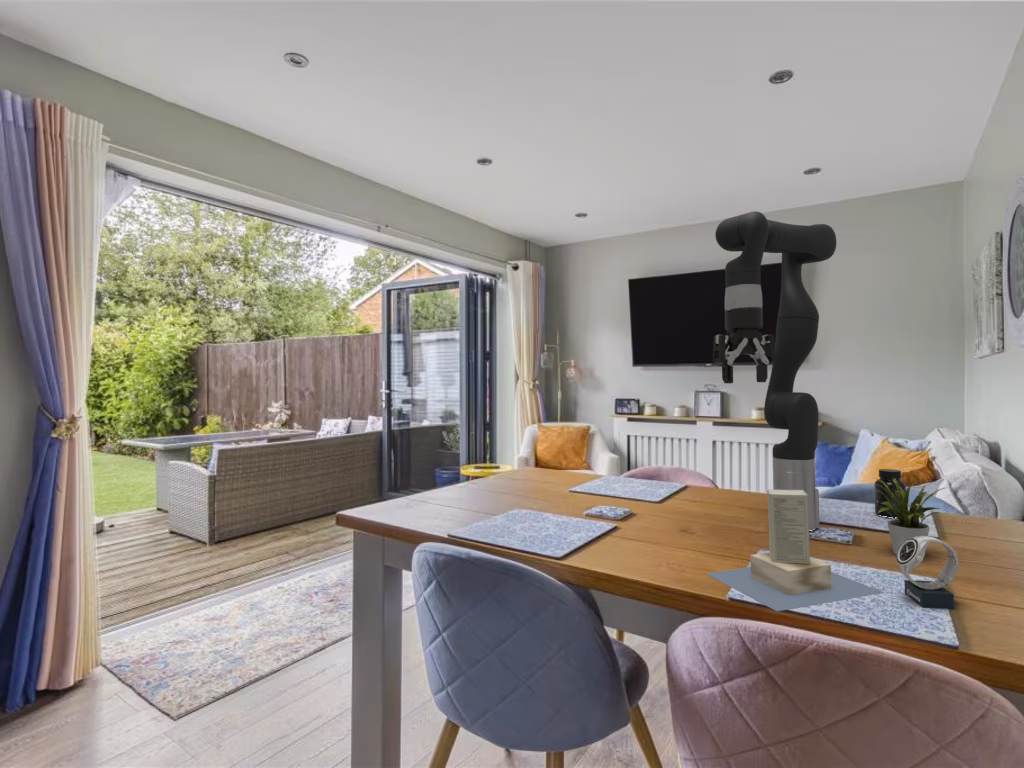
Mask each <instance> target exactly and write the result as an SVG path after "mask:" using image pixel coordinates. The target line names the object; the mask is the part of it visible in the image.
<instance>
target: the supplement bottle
mask: <svg viewBox="0 0 1024 768" xmlns="http://www.w3.org/2000/svg"><path fill="white" fill-rule="evenodd" d="M878 477H879V478H878V479H879V480H881V481H883V482H884V483H885V484H886V485H887V486H888V487H889V489H890V490H891V492H892V493H893V495H894V497H895V498H896V500H897V501H898V499H897V497H896V495H895V491H897V487H896V485H895V483H894V482H893V480H894V478H895V479H896V480H897V481H898V483H899V486H900V487H901V488H902V489H903V491H904V493H906V490H907V484H906V483H905V482H904V481H903V480H901V479H902V471H901V470H899V469H894V468H893V469H892V468H879V469H878ZM879 480H877V479H876V480H875V481H874V488H875V489H874V513H876V514H877V515H881V516H887V517H892V516H894V517H896V515H895V514H894V512H893V511H892V510H891V508H889V509H888V510H887V511H888V512H889V513H890V514H891V515H892V516H891V515H890V514H889V513H888V512H887V511H886V510H885V511H882V512H879V510H880V509H881V508H882V507H883V508H888V506H887V505H885V504H881V503H883V502H889V501H888V500H887V498H888V499H889V500H890V502H891V503H892V504H893V505H894V506H895V507H896V508H897V509H898V510H899V508H898V506H897V505H896V503H895V502H894V500H893V499H892V498H891V496H890V495H889V494H888V493H887V492H886V491H885V490H884V489H883V488H881V487H880V486H882V487H884V488H886V487H885V485H884V484H883V483H882V482H881V481H879ZM894 481H895V480H894ZM876 484H878V485H880V486H878V485H876ZM877 489H878V490H880V491H881V492H883V493H884V494H885V495H886V496H887V498H886V497H885V496H884V495H883V494H882V493H881V492H880V491H878V490H877ZM886 489H887V488H886ZM898 503H899V502H898ZM876 504H877V505H876ZM880 506H881V507H880ZM878 512H879V513H878ZM876 514H875V515H876ZM877 515H876V516H877Z"/></svg>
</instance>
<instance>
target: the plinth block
mask: <svg viewBox="0 0 1024 768" xmlns="http://www.w3.org/2000/svg"><path fill="white" fill-rule="evenodd" d="M749 559H750V567H751V577H752V578H754V579H756V580H758V581H760V582H763V583H765V584H767V585H769V586H771V587H773V588H775V589H777V590H779V591H781V592H783V593H786V594H788V595H792V594H798V593H804V592H810V591H816V590H822V589H828V588H831V572H832V569H831V568H832V565H831V564H830V563H827V562H824V561H821V560H819V559H816V558H814V557H812V556H810V564H798V563H784V562H772V560H771V557H770V553H769V552H764V553H757V554H755V553H754V554H750V558H749Z"/></svg>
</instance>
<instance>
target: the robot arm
mask: <svg viewBox="0 0 1024 768" xmlns="http://www.w3.org/2000/svg"><path fill="white" fill-rule="evenodd" d="M714 235H715V240H716V243H717V244H718V245H719V247H720V248H721V249H722V250H725V251H727V252H741V254H740V255H739V256H738V257H736V258H734V259H732V260H730V261H728V262H727V263H726V265H725V268H724V269H725V270H724V271H725V272H724V273H725V274H724V277H725V293H724V329H725V330H726V334H716V335H714V336H713V344H712V345H713V348H712V351H713V352H712V362H713V363H714V364H718V365H720V366H721V380H722V382H723V383H724V384H733V383H734V366H733V365H732V364H733V363H734V361H735V360H736V359H737V358H738V357H739V356H740V355H741V356H743V355H745V356H747V355H748V356H749V357H750V358H752V359H753V360H754V363H756V365H755V368H756V371H755V372H756V373H755V374H756V375H755V376H756V382H757V383H766V382H767V380H768V375H769V373H768V371H769V370H768V365H769V364H771V363H772V367H771V371H770V377H769V381H768V385H767V386H768V387H767V391H766V393H765V399H764V400H765V401H764V407H763V408H764V410H763V411H764V412H763V413H764V418H765V421H766V423H767V425H768V426H770V427H771V428H772V429H777V430H778V429H779V430H788V431H787V433H788V434H787V438H786V439H785V440H784V441H782V442H780V443H777V444H774V445H773V446H772V483H773V484H772V485H773V487H772V489H774V490H804V491H805V492H806V494H807V495H808V517H809V530H813V529H816V528H818V529H820V499H819V498H820V492H819V489H818V488H816V464H815V463H816V462H815V461H816V460H815V457H816V456H815V455H816V450H817V447H818V441H819V440H818V437H819V406H818V402H817V401H816V399H815V397H814V396H813V395H812V394H810V393H807V392H798V391H797V392H796V391H794V386H795V385H794V384H795V381H796V380H795V379H796V376H797V374H798V371H799V370H800V368H801V367H802V365H803V363H804V362H805V360H807V357H808V356H809V355H810V353H811V352H812V350H813V349H814V347H815V344H816V342H817V340H818V334H819V333H818V331H819V322H820V314H819V310H818V308H817V306H816V305H815V303H814V301H813V300H812V298H811V296H810V295H809V293H808V292H807V290H806V289H805V286H804V284H803V283H804V282H803V279H802V278H803V277H802V267H803V265H806V264H814V263H819V262H824V261H826V260H829V259H831V257H832V256H834V254H835V252H836V248H837V235H836V232H835V230H834V228H833V227H831V225H828V224H825V223H818V224H817V223H815V224H811V225H802V224H794V223H793V224H791V223H785V222H782V221H781V222H780V221H776V220H771V219H767V217H766V216H765V214H764V213H762V212H760V211H757V210H755V211H750V212H746V213H742V214H739V215H736V216H732V217H728V218H725V219H723V220H722V221H720V223H719V224H718V226H717V228H716V230H715V234H714ZM765 253H768V254H781V285H780V286H781V287H780V297H779V305H778V307H779V308H778V313H777V319H776V329H775V335H774V334H772V333H771V334H762V329H763V327H764V319H763V318H764V317H763V312H764V311H763V291H762V285H761V284H762V283H761V281H762V280H761V278H762V276H761V273H762V272H761V267H762V262H763V259H764V258H763V257H764V254H765ZM726 344H727V345H728V346H727V348H726ZM816 530H817V529H816Z"/></svg>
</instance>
